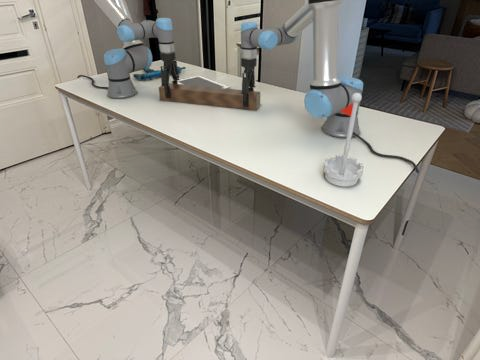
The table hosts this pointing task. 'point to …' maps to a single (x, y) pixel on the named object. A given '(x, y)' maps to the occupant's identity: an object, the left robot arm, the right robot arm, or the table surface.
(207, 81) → the tablet
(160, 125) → the table surface
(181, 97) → the slab
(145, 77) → the submachine gun
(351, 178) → the flag stand
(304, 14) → the right robot arm
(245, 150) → the table surface
